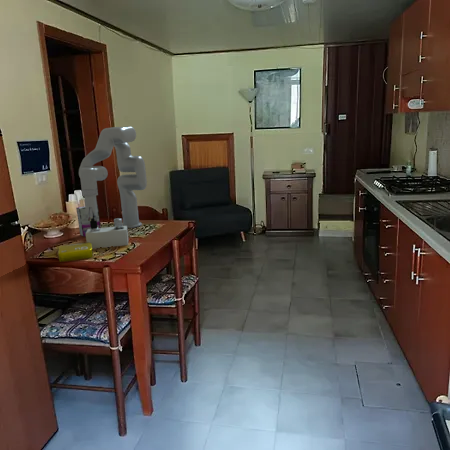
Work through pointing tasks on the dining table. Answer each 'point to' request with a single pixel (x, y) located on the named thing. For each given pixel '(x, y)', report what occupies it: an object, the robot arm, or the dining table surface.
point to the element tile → (75, 252)
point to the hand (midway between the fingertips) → (94, 228)
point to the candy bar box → (85, 220)
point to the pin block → (107, 237)
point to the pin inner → (118, 223)
